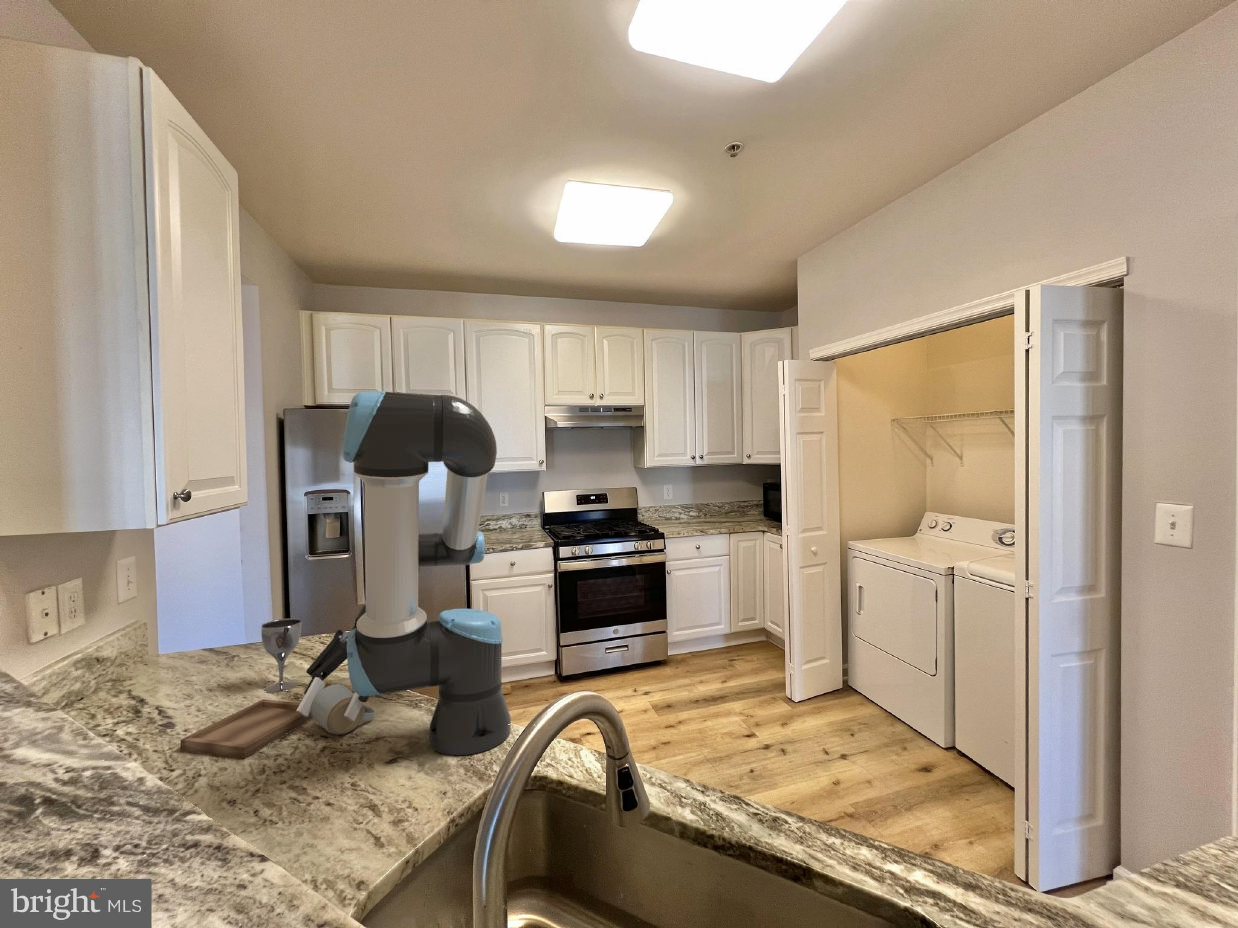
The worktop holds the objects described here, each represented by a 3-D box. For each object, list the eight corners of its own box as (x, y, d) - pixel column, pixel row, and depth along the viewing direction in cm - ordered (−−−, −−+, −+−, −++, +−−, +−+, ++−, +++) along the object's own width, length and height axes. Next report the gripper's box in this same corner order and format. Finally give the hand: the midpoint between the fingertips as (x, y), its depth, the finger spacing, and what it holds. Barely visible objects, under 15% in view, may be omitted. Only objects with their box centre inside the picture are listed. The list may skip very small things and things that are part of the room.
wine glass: (303, 687, 120) (304, 623, 121) (262, 696, 115) (263, 630, 115) (298, 677, 126) (298, 616, 127) (258, 685, 121) (259, 622, 121)
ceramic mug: (327, 743, 95) (328, 701, 95) (309, 729, 100) (310, 689, 100) (383, 722, 103) (384, 684, 103) (364, 711, 108) (365, 674, 109)
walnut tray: (319, 714, 106) (319, 704, 106) (244, 758, 90) (244, 747, 90) (263, 708, 109) (263, 699, 109) (180, 750, 93) (180, 739, 93)
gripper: (432, 622, 114) (386, 728, 98) (344, 617, 118) (287, 718, 102) (418, 604, 108) (367, 713, 93) (327, 600, 113) (263, 703, 97)
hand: (325, 715), depth 97 cm, fingers closed on ceramic mug, 10 cm apart
